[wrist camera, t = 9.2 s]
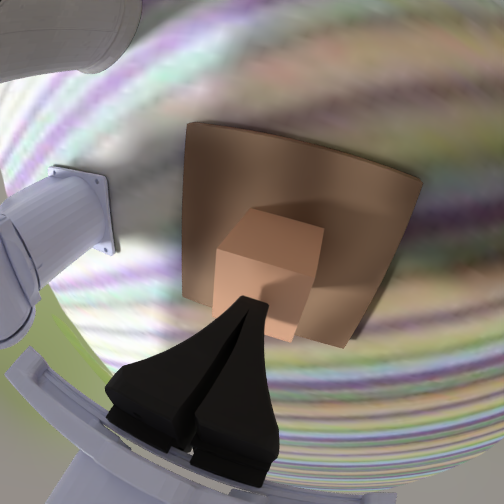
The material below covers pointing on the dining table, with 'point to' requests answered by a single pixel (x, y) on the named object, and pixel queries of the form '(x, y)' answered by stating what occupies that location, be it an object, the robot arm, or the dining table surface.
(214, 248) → the post base
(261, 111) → the dining table surface
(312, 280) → the peach tilted cube
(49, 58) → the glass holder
